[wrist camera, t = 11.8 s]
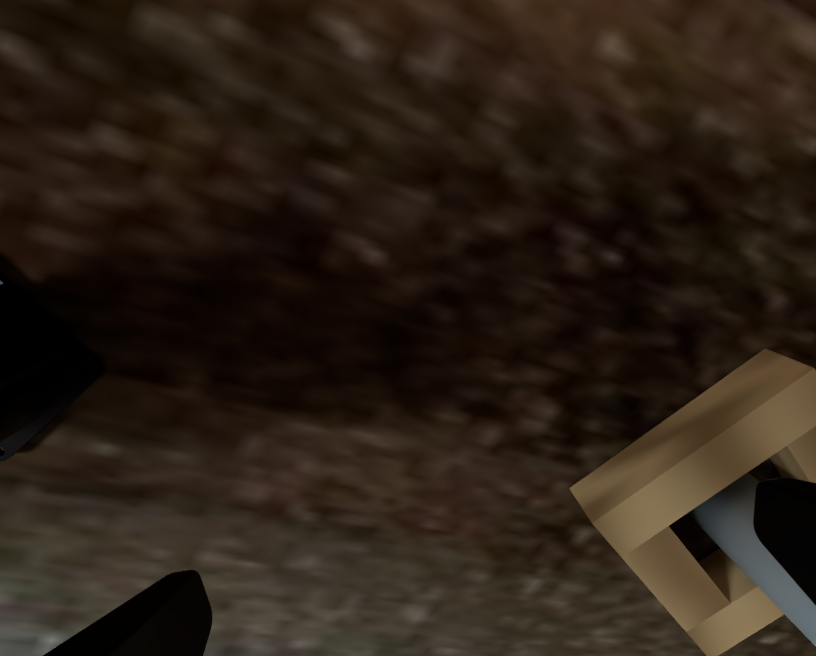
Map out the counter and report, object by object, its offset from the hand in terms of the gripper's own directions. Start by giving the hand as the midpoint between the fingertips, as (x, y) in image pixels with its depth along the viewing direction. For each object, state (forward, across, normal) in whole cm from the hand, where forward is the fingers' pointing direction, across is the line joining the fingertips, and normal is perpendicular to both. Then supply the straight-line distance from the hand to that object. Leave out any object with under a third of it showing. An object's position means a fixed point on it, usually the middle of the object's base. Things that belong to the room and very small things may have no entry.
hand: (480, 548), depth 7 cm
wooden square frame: (+13, +14, -11) cm, 22 cm away
